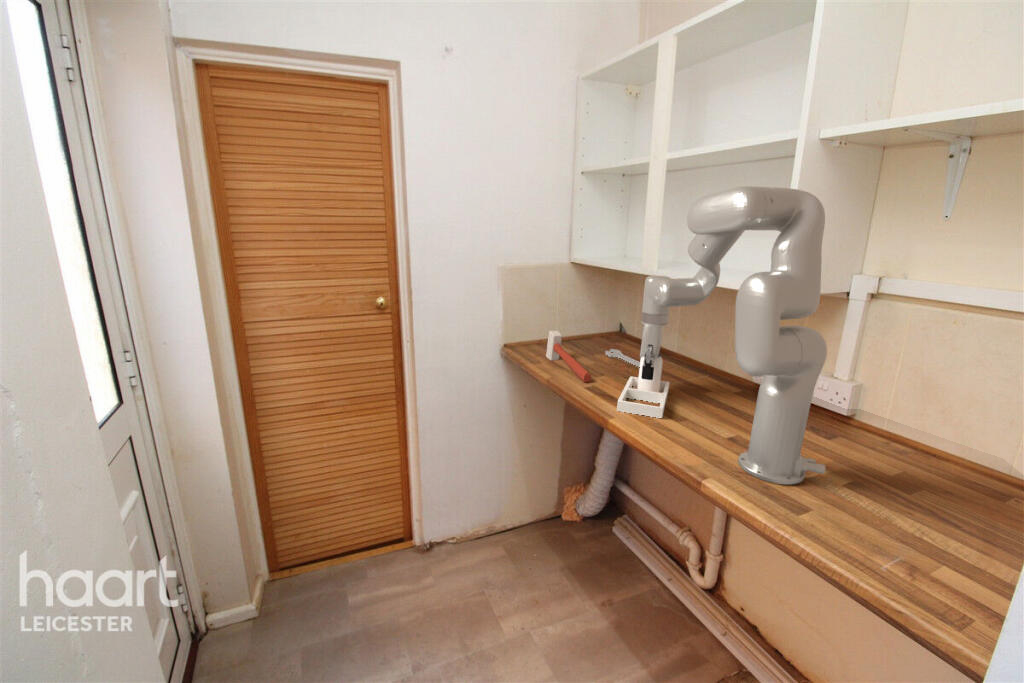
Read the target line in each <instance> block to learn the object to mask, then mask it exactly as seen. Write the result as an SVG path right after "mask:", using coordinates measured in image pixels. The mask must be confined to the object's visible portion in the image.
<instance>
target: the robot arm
mask: <svg viewBox="0 0 1024 683" xmlns="http://www.w3.org/2000/svg"><path fill="white" fill-rule="evenodd" d="M825 212H826V211H825V208H824V205H823V203H822V201H820V199H819V198H818V197H817V196H815V195H814V194H812V193H811V192H809V191H805V190H802V189H797V188H790V187H789V188H788V187H775V186H774V187H771V186H770V187H766V186H751V185H750V186H749V185H748V186H738V187H734V188H730V189H727V190H722V191H719V192H715V193H710V194H707V195H704V196H702V197H699V198H698V199H697V200H695V202H694V203H693V204H692V205H691V207H689V211H688V213H687V217H686V220H687V221H686V223H687V225H686V226H687V227H688V229H689V231H690V232H691V233H693V234H695V236H693V238H692V240H691V241H690V242H689V244H688V246H687V252H688V255H689V257H690V258H691V260H692V261H693V262H694V263H696V264H697V265H698V266H700V269H699V270H698V271H697V272H696V274H694V276H693V277H692V278H691V277H688V278H684V277H683V278H671V277H668V276H666V275H650V276H647V277H645V280H644V288H643V299H642V307H641V317H640V318H641V320H640V323H641V324H642V325H643V328H642V329H643V330H642V336H641V345H640V352H639V357H640V359H641V358H642V357H644V363H643V367H642V377H641V378H642V379H646V380H653V373H654V367H653V365H654V359H656V358H657V357H658V354H660V350H661V347H662V346H661V345H662V341H663V340H662V339H663V332H664V327H666V326H668V325H669V324H668V323H669V316H670V308H671V307H686V306H687V307H689V306H690V307H691V306H692V307H693V306H696V305H700V304H701V303H702V302H704V301H705V300H706V299H708V297H709V296H710V295H711V294H712V292H713V291H714V290H715V289H716V287H717V286H718V283H719V281H720V277H721V265H720V263H721V261H722V260H723V258H724V257H725V256H726V255H727V253H729V251H730V250H731V249H732V247H733V246H734V245H735V243H736V242H737V241H738V240H739V239H740V238H741V236H742V235H743V233H745V231H775V232H776V231H778V232H780V233H779V234H778V236H777V238H776V239H775V241H774V243H773V246H772V249H771V256H770V260H771V261H770V262H771V263H770V271H760V272H756V273H753V274H751V275H749V276H748V277H746V278H745V279H744V281H743V282H742V283H741V284H740V286H739V289H738V290H737V291H738V292H737V294H736V297H735V309H734V310H735V311H734V312H735V313H734V314H735V316H734V318H735V319H734V320H735V321H734V322H735V323H734V325H735V326H734V328H735V329H734V331H735V332H734V353H735V358H736V361H737V364H738V366H739V368H740V369H741V370H742V372H744V373H745V374H747V375H749V376H751V377H756V378H762V380H761V383H760V384H759V389H758V392H757V398H756V403H755V404H756V405H755V409H754V413H753V414H754V415H753V421H752V427H751V433H750V438H749V442H748V449H747V451H744V452H742V453H740V454H739V456H738V460H737V462H738V465H739V466H740V468H741V469H742V470H743V471H745V472H746V473H747V474H749V475H750V476H752V477H755V478H757V479H759V480H762V481H765V482H767V483H772V484H777V485H788V486H789V485H796V484H799V483H800V484H801V483H802V482H803V481H804V480H805V478H806V477H805V476H806V473H807V472H813V473H815V474H820V475H825V472H826V465H825V464H822V463H817V462H816V459H815V458H809V457H807V458H806V457H804V456H803V455H802V454H801V452H802V447H803V443H804V438H805V432H806V428H807V424H808V423H807V422H808V418H809V413H810V408H811V403H812V399H813V396H814V395H813V394H814V392H815V388H816V385H817V382H818V380H819V377H820V374H821V372H822V370H823V369H824V365H825V363H826V360H827V355H828V347H827V346H828V345H827V342H826V340H825V338H824V337H823V335H822V334H821V333H820V332H819V331H817V330H816V329H814V328H812V327H808V326H803V325H787V326H786V325H785V326H784V325H783V326H781V325H780V324H781V321H784V320H785V321H786V320H798V319H799V320H800V319H804V318H808V317H809V316H811V315H813V314H815V313H816V311H817V310H818V309H819V305H820V301H821V287H822V285H821V284H822V283H821V282H822V264H823V263H822V257H823V256H822V253H823V252H822V249H823V248H822V247H823V238H824V231H825V226H826V213H825ZM644 355H645V356H644Z"/></svg>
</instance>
